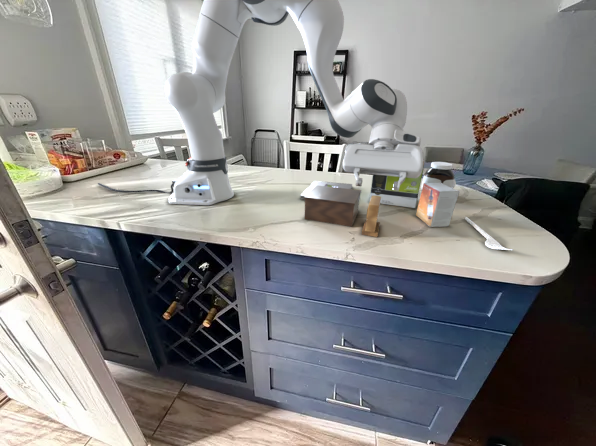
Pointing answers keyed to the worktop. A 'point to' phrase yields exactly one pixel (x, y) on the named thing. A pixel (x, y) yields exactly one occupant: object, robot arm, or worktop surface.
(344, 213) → the wooden box
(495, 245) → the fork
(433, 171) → the spread jar
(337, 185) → the play button award
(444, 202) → the small box
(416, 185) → the tea box
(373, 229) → the wooden i-shaped block
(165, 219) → the worktop surface
